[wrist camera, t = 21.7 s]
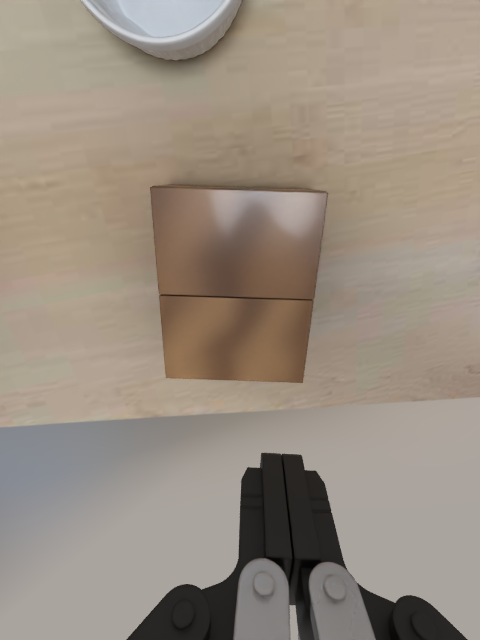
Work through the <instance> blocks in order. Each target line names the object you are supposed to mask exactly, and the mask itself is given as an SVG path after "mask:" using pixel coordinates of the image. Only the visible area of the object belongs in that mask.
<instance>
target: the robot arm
mask: <svg viewBox="0 0 480 640" xmlns="http://www.w3.org/2000/svg"><path fill="white" fill-rule="evenodd" d="M240 504H241V505H240V531H239V559H238V563H237V565H236V568H235V569H234V571H233V572H232V574H231V575H230V576H229V577H228V578H227V579H226V580H224V581H223V582H221V583H219V584H216V585H213V586H211V587H208V588H205V589H202V590H201V589H200V588H198V587H197V586H194V585H190V584H185V585H180V586H177V587H175V588H174V589H172V590H171V591H170V592H169V593H167V594H166V596H165V597H164V598H163V599H162V600H161V601H160V602H159V604H158V605H157V606H156V607H155V608H154V609H153V610H152V611H151V613H150V614H149V615H148V616H147V617H146V618H145V619H144V620H143V622H142V623H141V624H140V625H139V626H138V627H137V629H135V631H134V632H133V633H132V634H131V635H130V636H129V637H128V639H127V640H290V611H289V610H290V609H289V605H296V614H297V623H298V639H299V640H467V639H466V638H465V637H464V636H463V635H462V634H461V633H460V632H459V631H458V630H457V629H456V628H455V627H454V626H453V625H452V624H451V623H450V622H449V621H448V620H447V619H446V618H444V616H442V615H441V614H440V612H438V611H437V610H436V609H435V608H434V607H433V606H432V605H431V604H429V603H428V602H427V601H425V600H423V599H421V598H419V597H416V596H411V595H410V596H403V597H401V598H399V599H398V600H397V602H396V603H394V602H392V601H389V600H387V599H385V598H382V597H380V596H378V595H376V594H373V593H371V592H369V591H367V590H366V589H364V588H363V587H361V586H360V585H359V584H358V583H357V582H356V581H355V579H354V578H353V576H352V575H351V574H350V573H349V572H348V570H347V568H346V566H345V564H344V561H343V557H342V553H341V549H340V545H339V541H338V537H337V532H336V528H335V524H334V520H333V516H332V513H331V508H330V504H329V501H328V496H327V491H326V488H325V484H324V482H323V481H322V479H321V478H320V476H319V475H318V473H317V472H316V471H307V470H304V464H303V459H302V456H301V455H295V454H282V455H281V454H276V453H261V463H260V468H249V467H248V468H247V470H246V472H245V474H244V476H243V478H242V481H241V502H240Z"/></svg>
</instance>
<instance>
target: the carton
mask: <svg viewBox="0 0 480 640" xmlns="http://www.w3.org/2000/svg"><path fill="white" fill-rule="evenodd" d="M150 191H151V203H152V215H153V227H154V239H155V252H156V264H157V276H158V288H159V294H161V295H183V296H213V297H242V298H272V299H301V300H313V299H314V295H315V287H316V280H317V272H318V265H319V257H320V250H321V242H322V235H323V227H324V220H325V212H326V205H327V197H328V193H327V192H326V191H320V190H314V189H294V188H262V187H230V186H198V185H159V186H152V187H150Z"/></svg>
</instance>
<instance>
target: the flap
mask: <svg viewBox="0 0 480 640" xmlns="http://www.w3.org/2000/svg"><path fill="white" fill-rule="evenodd" d="M159 299H160V311H161V323H162V336H163V348H164V361H165V373H166V378H183V379H211V380H239V381H267V382H295V383H303V377H304V370H305V362H306V354H307V347H308V339H309V332H310V324H311V317H312V309H313V300H301V299H272V298H242V297H213V296H183V295H160V296H159Z"/></svg>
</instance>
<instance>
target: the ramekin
mask: <svg viewBox="0 0 480 640" xmlns="http://www.w3.org/2000/svg"><path fill="white" fill-rule="evenodd" d="M80 1H81V2H82V3H83V5H84V6H85V7H86V8H87V10H88V11H89V12H90V13H91V14H92V15H93V16H94V18H95V19H96V20H97V21H98V22H99V23H100V24H101V25H103V26H104V27H105V28H106V29H107V30H109V31H110V32H111V33H113V34H114V35H115V36H117V37H118V38H120V39H122V40H123V41H125V42H127V43H129V44H131V45H134V46H135V47H137V48H139V49H141V50H142V51H144V52H145V53H147V54H151V55H153V56H155V57H157V58H163V59H165V60H170V59H172V60H175V61H176V60H179V59H184V60H186V59H188V58H194V57H196V56H197V55H200V54H203V53H204V52H205V51H207V50H210V49H211V48H212V46H214V45H215V44H216V43H217V42H218V40H219V39H220V38H222V37H223V36H224V34H225V32H226V30H228V29H229V27H230V26H231V23H232V20H233V19H234V18H235V16H236V14H237V11H238V8H239V7H240V5H241V2H242V0H80Z"/></svg>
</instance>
